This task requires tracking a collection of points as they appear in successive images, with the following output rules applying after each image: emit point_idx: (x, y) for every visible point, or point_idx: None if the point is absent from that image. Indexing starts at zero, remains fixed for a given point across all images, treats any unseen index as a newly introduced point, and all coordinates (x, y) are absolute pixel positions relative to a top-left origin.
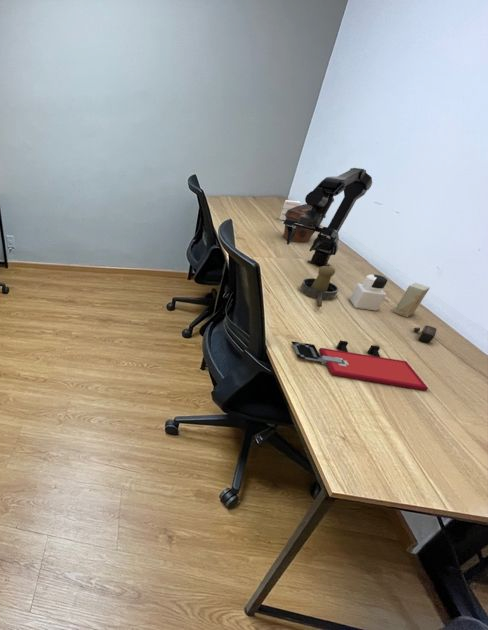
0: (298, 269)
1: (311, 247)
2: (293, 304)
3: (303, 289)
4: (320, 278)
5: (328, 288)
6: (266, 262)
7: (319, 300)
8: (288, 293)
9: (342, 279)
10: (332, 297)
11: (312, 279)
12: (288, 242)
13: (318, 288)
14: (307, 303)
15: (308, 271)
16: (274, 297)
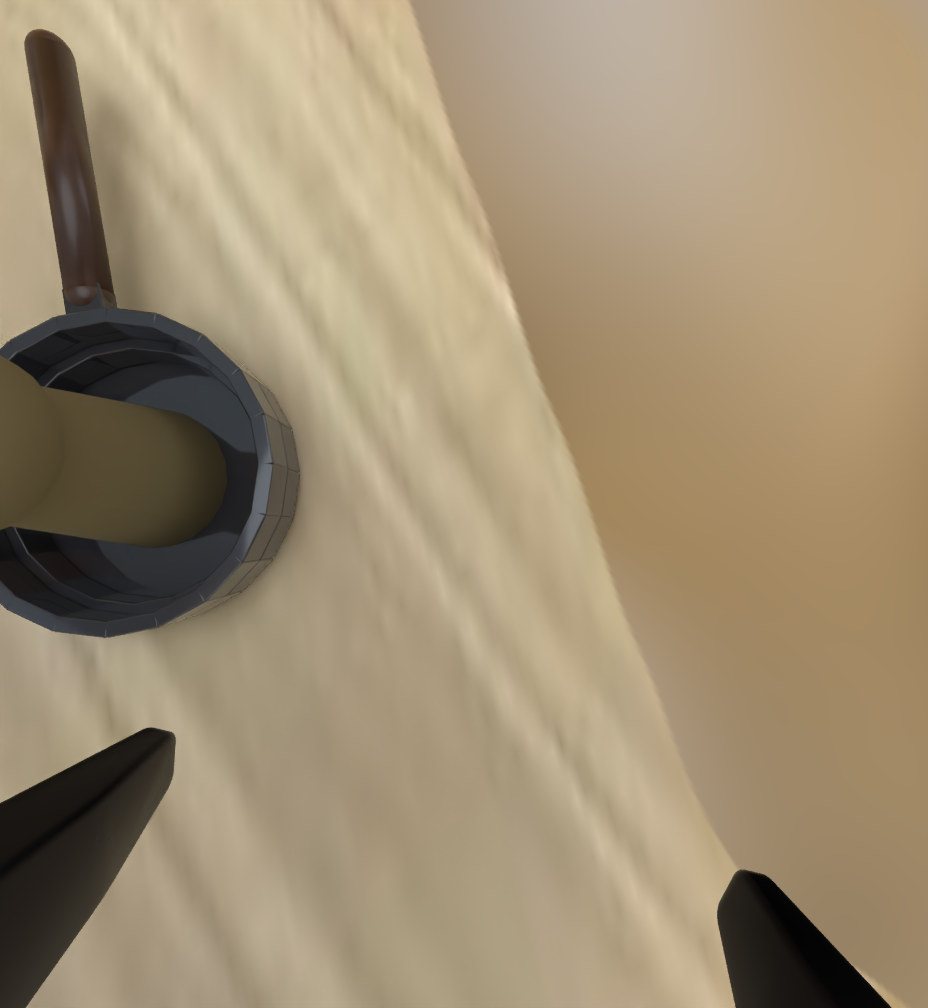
0: (426, 949)
1: (86, 791)
2: (268, 117)
3: (250, 374)
4: (53, 390)
5: (73, 580)
6: None
7: (48, 90)
8: (353, 294)
9: None
10: None
11: (205, 582)
12: (769, 918)
13: (116, 400)
14: (184, 211)
15: (333, 967)
16: (422, 137)
